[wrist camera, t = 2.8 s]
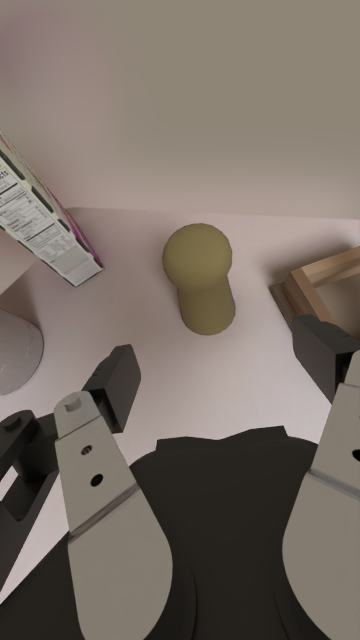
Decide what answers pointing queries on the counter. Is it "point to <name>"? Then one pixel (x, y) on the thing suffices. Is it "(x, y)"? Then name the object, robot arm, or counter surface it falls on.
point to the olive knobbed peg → (201, 277)
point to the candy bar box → (42, 220)
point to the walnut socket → (324, 291)
